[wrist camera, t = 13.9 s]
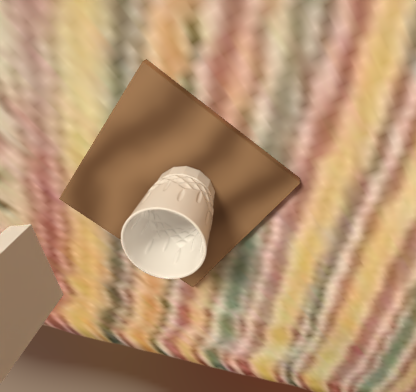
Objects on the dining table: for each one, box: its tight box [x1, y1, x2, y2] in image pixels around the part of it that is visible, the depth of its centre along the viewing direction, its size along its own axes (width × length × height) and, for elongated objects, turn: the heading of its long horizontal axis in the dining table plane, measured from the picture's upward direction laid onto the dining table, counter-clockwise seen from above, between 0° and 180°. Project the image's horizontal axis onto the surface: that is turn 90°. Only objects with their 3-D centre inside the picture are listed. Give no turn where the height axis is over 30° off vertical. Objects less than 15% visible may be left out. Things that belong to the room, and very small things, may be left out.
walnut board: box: [59, 59, 300, 287], centre depth 44 cm, size 20×20×1 cm
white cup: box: [121, 166, 215, 279], centre depth 38 cm, size 8×8×10 cm
